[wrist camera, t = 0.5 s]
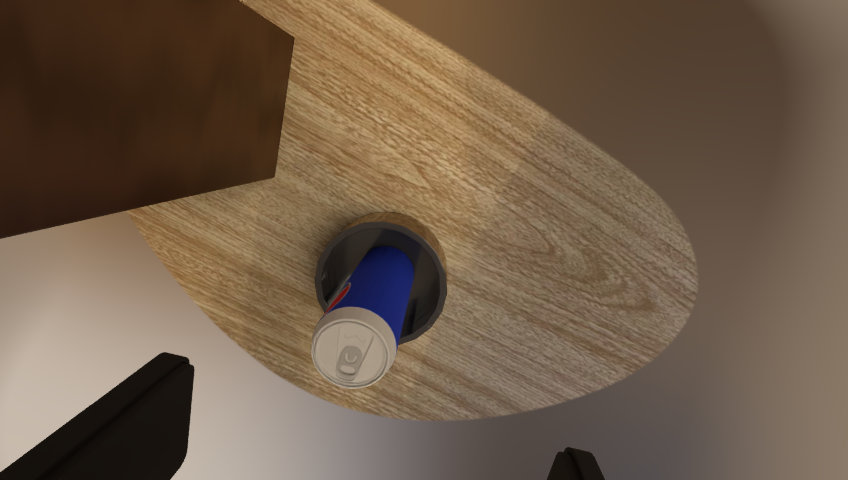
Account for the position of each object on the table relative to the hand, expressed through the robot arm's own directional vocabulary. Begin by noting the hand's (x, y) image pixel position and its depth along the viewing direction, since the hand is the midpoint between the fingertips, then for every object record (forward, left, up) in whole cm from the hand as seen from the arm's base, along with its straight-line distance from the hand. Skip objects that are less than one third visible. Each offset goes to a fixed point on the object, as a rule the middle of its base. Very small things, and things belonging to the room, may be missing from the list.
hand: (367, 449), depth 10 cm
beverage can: (+5, -2, -27) cm, 28 cm away
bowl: (+5, -2, -27) cm, 28 cm away
